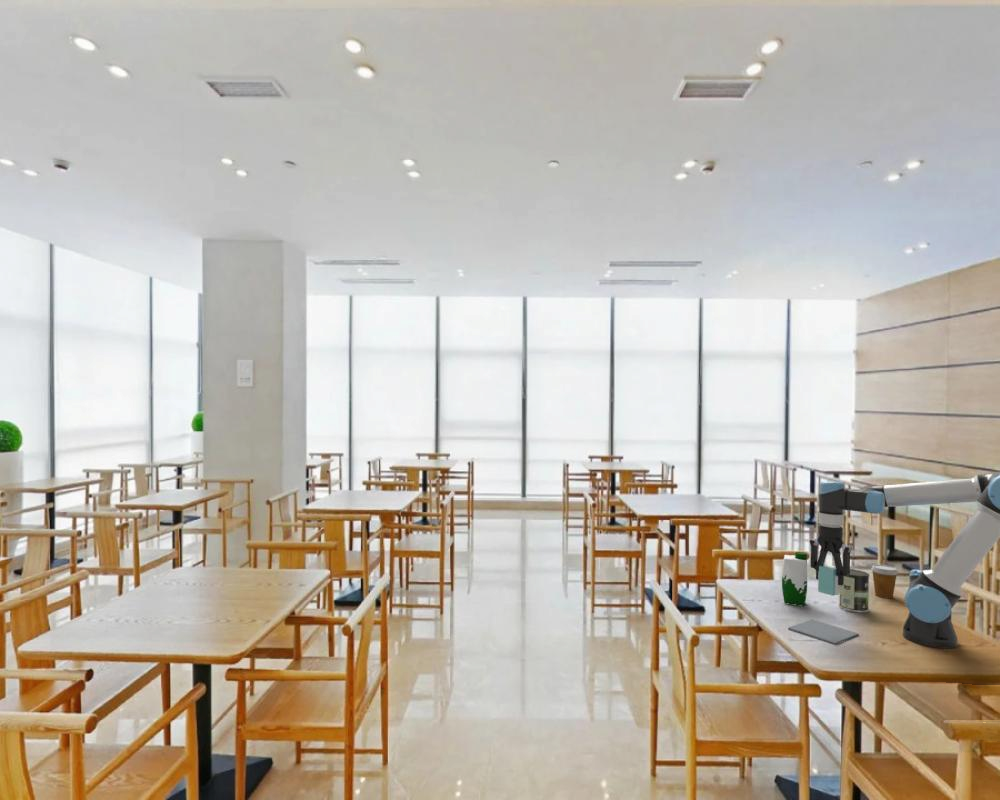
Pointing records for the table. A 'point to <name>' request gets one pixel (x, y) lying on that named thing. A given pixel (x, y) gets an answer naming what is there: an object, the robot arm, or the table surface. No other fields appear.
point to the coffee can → (855, 592)
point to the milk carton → (794, 578)
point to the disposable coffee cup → (884, 580)
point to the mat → (823, 631)
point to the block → (827, 579)
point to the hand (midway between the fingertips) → (829, 591)
